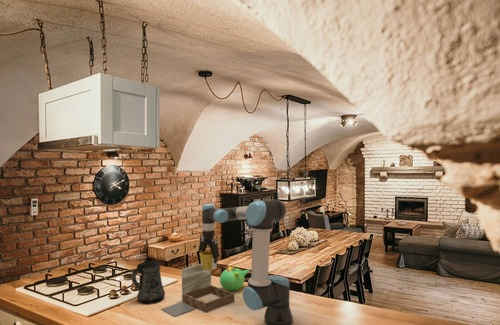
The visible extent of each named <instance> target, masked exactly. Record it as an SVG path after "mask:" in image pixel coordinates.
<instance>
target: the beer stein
mask: <svg viewBox="0 0 500 325" xmlns="http://www.w3.org/2000/svg"><path fill="white" fill-rule="evenodd" d="M138 274H140V277H139V278H140V280H139V282H138V281H137V278H136V277H137V276H138ZM130 276H131V279H130V280H131V282H132V284H133V285H134V286H135V287H136V288H137V289H138V293H137V295H136V296H137V301H138V303H139V304H141V305H154V304H155V305H156V304H158V303H160V302H162V301H164V299H165V295H166V291H165V289H164V286H163V282H162V276H161V263H159V262H158V261H157V260H155V259H154V258H152V257H150V258H149V257H148V258H146V259H144V261H143V262H141V263H138V264H137V265H136V268H135V269H133V271H132V272H131V275H130Z"/></svg>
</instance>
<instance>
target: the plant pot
mask: <svg viewBox="0 0 500 325" xmlns="http://www.w3.org/2000/svg"><path fill="white" fill-rule="evenodd" d="M212 258H213V255H212V252H211V250H205V251H203V252H201V253H199V259H200V262H201V261H202V266H203V269H204V270H211V271H213V270H214V269H212Z"/></svg>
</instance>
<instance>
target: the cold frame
mask: <svg viewBox="0 0 500 325" xmlns="http://www.w3.org/2000/svg"><path fill="white" fill-rule="evenodd" d="M207 295H214V296H217V297H219V298H216V299H213V300H210V301H208V302H205V301H204V300H203V301H202V300H200V298H202V297H205V296H207ZM181 302H183V303H185V304H187V305H190V306H192V307H194V308H196V309H195V310H199V311H201V312H203V313H205V314H206V313H209V312H211V311H215V310H217V309H219V308H220V309H221V308H222V307H225V306H227V305H229V304H233V303H234V302H235V293H234V292H233V291H232V292H231V291H230V290H226V289H225V288H221V287H218V286H215V285H212V270H204V269H203V266H201V263H199V264H195V265H191V266H188V267H187V266H186V267H184V268H181Z"/></svg>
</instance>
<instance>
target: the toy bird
mask: <svg viewBox="0 0 500 325" xmlns="http://www.w3.org/2000/svg"><path fill="white" fill-rule="evenodd" d="M249 272H250V269H245V270H241V269H240V268H237V267H232V266H228V268H227V269H224V270H223V271H222V273H221V274H220V276H219V283H220V286H221V287H222V289H224V290H226V291H236V290H239V289H240V288H242V286H244V282H245V279H246V278H245V276H246V275H247V274H248V273H249Z"/></svg>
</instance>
